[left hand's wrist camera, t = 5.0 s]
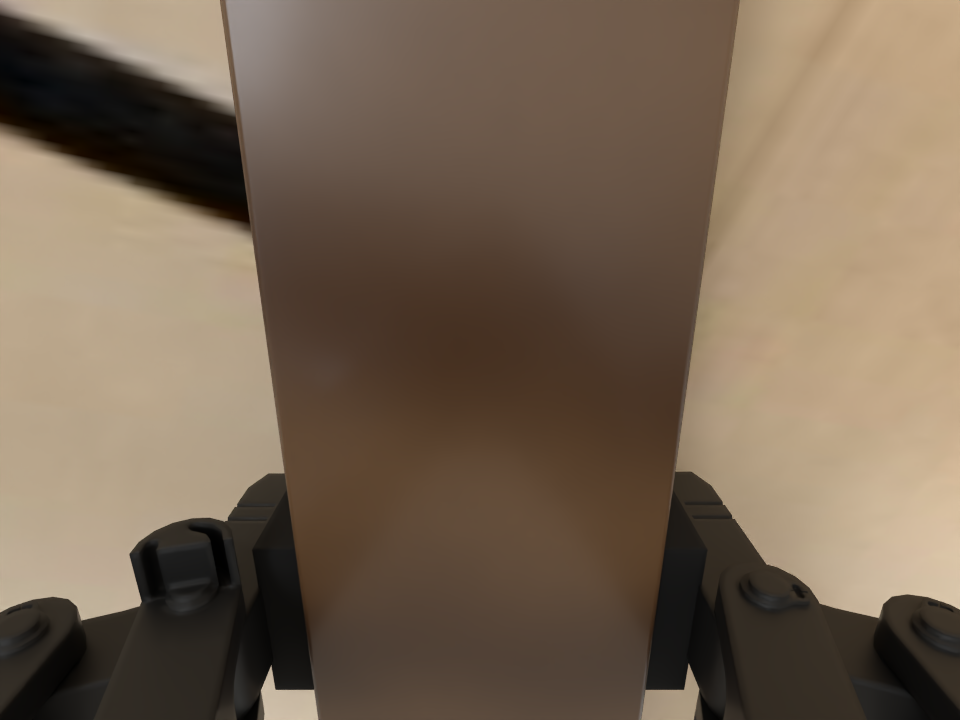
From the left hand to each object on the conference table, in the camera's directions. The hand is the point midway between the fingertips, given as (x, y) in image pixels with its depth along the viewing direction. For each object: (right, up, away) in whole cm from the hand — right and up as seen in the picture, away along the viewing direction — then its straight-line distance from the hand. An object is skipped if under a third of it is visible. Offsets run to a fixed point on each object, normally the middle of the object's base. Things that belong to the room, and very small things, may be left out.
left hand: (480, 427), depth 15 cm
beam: (0, +31, -11) cm, 33 cm away
